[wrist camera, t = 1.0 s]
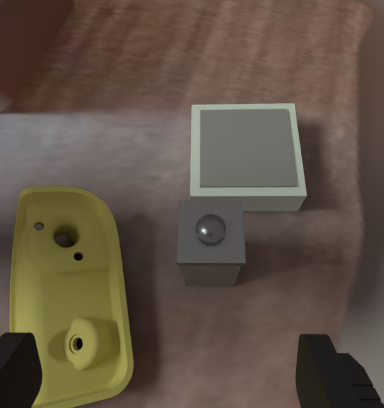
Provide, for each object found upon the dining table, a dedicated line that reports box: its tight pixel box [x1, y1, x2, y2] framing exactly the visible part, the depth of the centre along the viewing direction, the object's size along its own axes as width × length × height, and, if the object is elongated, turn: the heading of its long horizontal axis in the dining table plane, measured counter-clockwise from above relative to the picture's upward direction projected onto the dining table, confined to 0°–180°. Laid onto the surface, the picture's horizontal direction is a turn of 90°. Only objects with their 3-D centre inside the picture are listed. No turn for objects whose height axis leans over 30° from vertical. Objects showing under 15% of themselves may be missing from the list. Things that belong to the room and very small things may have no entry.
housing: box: [177, 200, 246, 287], centre depth 33 cm, size 5×5×11 cm
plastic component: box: [10, 186, 134, 408], centre depth 35 cm, size 20×7×10 cm
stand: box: [190, 104, 307, 211], centre depth 41 cm, size 12×12×4 cm
